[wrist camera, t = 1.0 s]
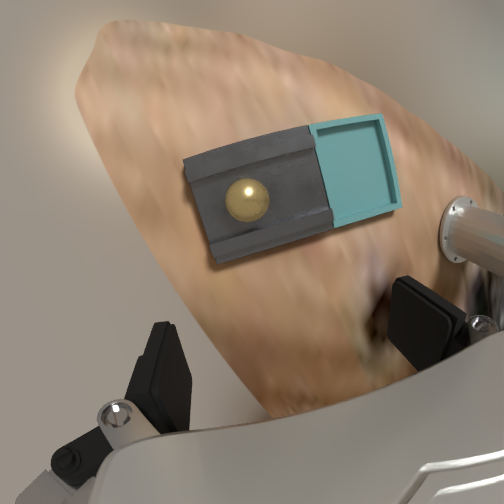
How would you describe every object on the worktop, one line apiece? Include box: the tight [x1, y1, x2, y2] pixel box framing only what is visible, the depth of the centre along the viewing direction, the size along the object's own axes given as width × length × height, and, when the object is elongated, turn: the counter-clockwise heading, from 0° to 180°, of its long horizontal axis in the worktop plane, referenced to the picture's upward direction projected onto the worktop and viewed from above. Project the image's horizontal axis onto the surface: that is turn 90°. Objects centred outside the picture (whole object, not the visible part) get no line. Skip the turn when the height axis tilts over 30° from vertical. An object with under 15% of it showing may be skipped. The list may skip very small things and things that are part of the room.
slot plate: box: [183, 125, 335, 264], centre depth 34 cm, size 16×14×3 cm
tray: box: [308, 113, 402, 228], centre depth 34 cm, size 12×14×2 cm
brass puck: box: [225, 178, 269, 222], centre depth 32 cm, size 5×5×2 cm
